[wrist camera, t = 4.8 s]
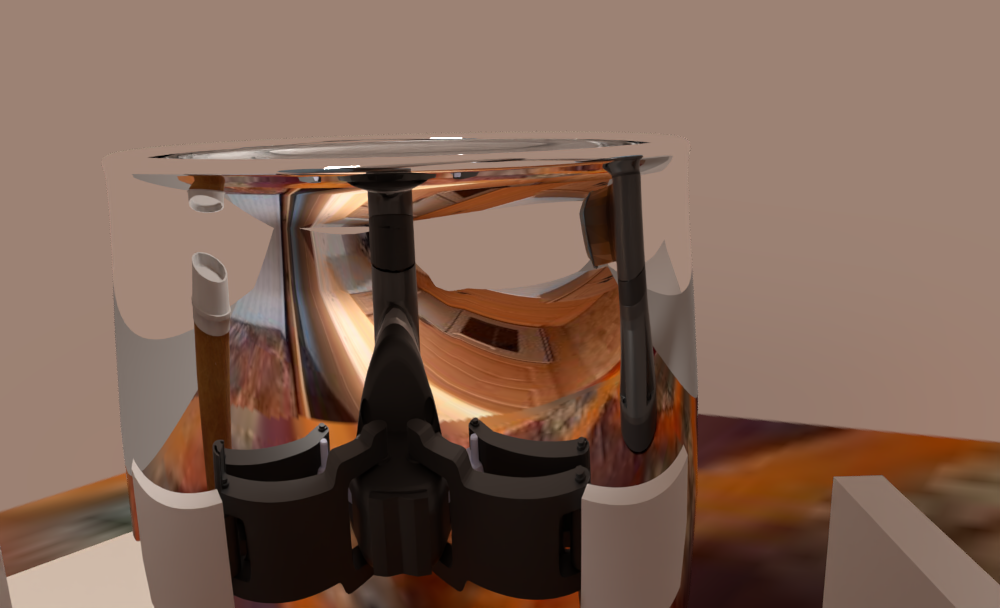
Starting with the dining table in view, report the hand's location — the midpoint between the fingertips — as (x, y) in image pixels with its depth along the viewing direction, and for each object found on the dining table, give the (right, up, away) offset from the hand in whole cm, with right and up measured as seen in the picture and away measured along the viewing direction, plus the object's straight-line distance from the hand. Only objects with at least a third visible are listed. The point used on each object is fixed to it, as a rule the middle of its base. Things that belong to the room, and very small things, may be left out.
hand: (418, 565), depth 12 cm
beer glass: (+1, -9, +1) cm, 9 cm away
